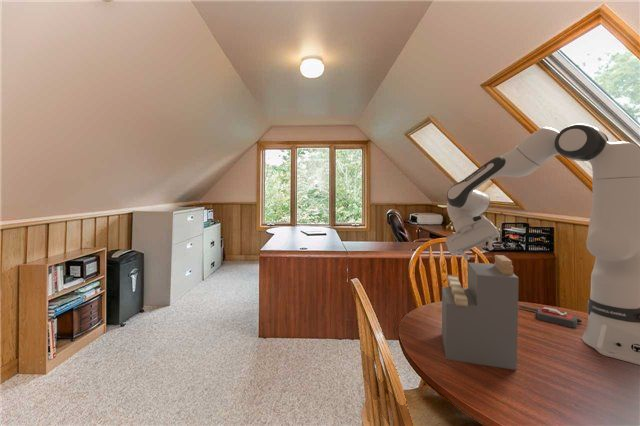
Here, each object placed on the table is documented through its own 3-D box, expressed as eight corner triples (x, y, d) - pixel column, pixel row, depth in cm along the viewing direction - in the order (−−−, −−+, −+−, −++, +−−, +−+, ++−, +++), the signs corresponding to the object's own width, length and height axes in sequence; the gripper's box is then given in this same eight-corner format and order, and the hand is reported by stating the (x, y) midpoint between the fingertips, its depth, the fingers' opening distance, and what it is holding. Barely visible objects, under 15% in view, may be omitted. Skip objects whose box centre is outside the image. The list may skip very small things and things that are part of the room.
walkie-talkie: (582, 322, 109) (519, 308, 123) (582, 311, 108) (519, 298, 123) (579, 330, 103) (513, 314, 117) (580, 318, 102) (514, 303, 117)
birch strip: (447, 279, 108) (447, 274, 107) (456, 280, 107) (456, 275, 106) (456, 305, 83) (456, 298, 83) (467, 306, 82) (467, 299, 82)
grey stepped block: (441, 334, 101) (442, 250, 99) (500, 342, 95) (502, 253, 93) (446, 359, 86) (446, 260, 84) (516, 370, 80) (519, 264, 78)
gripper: (440, 235, 127) (450, 261, 118) (486, 212, 117) (502, 239, 108) (447, 241, 131) (457, 267, 121) (492, 220, 120) (508, 246, 111)
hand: (479, 254), depth 114 cm, fingers open, 8 cm apart
